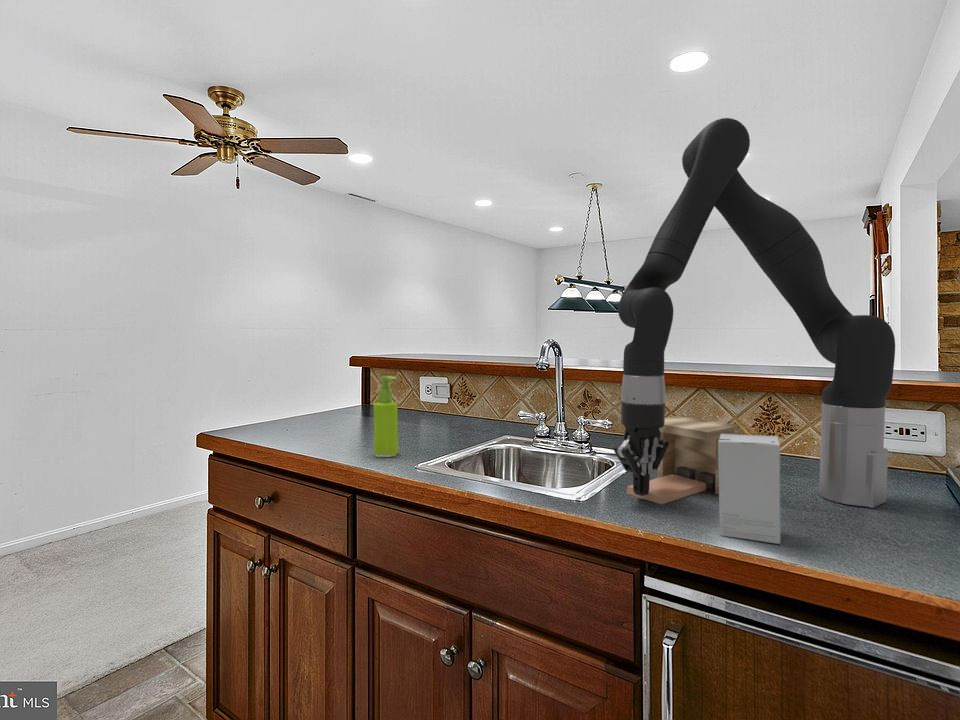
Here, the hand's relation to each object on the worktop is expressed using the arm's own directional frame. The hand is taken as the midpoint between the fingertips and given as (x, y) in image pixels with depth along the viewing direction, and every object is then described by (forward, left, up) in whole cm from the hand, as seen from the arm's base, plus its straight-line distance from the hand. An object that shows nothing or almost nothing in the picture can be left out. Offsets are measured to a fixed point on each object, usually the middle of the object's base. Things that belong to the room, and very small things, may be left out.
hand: (641, 494), depth 93 cm
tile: (0, -8, -2) cm, 8 cm away
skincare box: (-20, 0, -1) cm, 20 cm away
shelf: (0, -14, -1) cm, 14 cm away
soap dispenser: (+58, +24, -1) cm, 63 cm away
